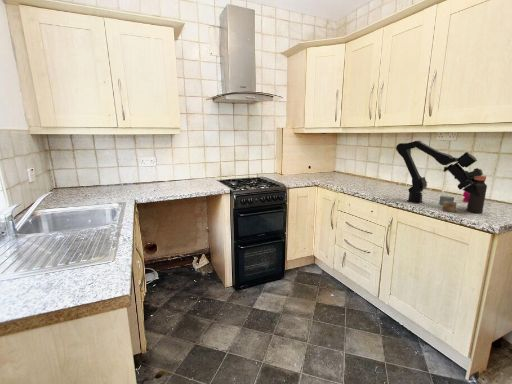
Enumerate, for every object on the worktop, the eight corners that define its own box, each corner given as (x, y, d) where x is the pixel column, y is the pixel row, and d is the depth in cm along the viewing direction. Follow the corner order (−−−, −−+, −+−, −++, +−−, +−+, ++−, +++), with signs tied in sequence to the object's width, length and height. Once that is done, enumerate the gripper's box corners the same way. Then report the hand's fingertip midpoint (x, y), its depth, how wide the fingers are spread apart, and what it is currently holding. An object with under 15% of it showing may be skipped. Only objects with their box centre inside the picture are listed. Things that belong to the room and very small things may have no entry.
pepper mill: (463, 199, 173) (468, 169, 169) (477, 201, 168) (483, 170, 164) (460, 201, 168) (465, 170, 164) (475, 203, 163) (480, 171, 159)
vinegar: (476, 210, 149) (482, 174, 145) (485, 213, 143) (492, 176, 139) (463, 209, 150) (469, 174, 146) (472, 213, 143) (478, 176, 139)
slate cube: (439, 204, 163) (440, 196, 162) (444, 203, 165) (445, 195, 164) (447, 206, 159) (448, 197, 158) (453, 205, 160) (454, 197, 159)
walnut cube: (442, 211, 148) (443, 202, 147) (444, 209, 152) (445, 200, 151) (453, 212, 145) (454, 204, 144) (455, 211, 148) (456, 202, 147)
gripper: (468, 164, 138) (492, 188, 132) (477, 162, 150) (499, 184, 144) (448, 178, 145) (470, 201, 139) (458, 174, 157) (478, 195, 151)
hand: (480, 195), depth 143 cm, fingers closed on vinegar, 6 cm apart
